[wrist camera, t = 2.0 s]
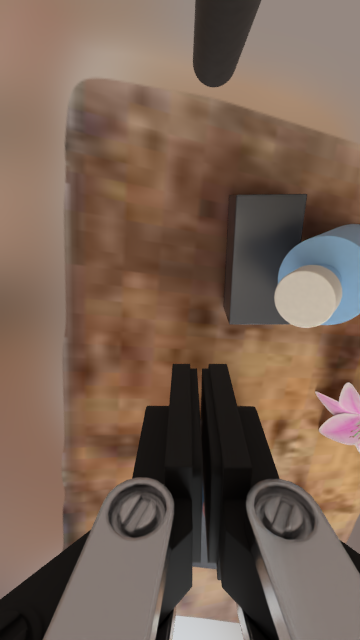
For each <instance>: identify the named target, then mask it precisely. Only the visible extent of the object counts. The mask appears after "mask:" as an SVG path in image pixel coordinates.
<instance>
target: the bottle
mask: <svg viewBox="0 0 360 640" xmlns="http://www.w3.org/2000/svg"><path fill="white" fill-rule="evenodd" d="M274 300H275V306H276V308H277V310H278V312H279V314H280V315H281V316H282V318H284V319H285V320H286V321H287V322H289V323H290V324H292V325H295V326H298V327H303V328H310V327H316V326H318V325H334V324H339V323H343V322H346V321H348V320H350V319H352V318H354V317H355V316H357V315H358V314H359V313H360V224H348V225H343V226H340V227H337V228H335V229H332V230H330V231H327V232H325V233H322V234H320V235H317V236H315V237H312V238H310V239H307V240H305V241H303V242H301V243H299V244H298V245H296V246H295V247H294V248H293V249H292V250H291V251H290V252H289V253H288V254H287V255H286V257H285V258H284V260H283V262H282V264H281V266H280V269H279V273H278V285H277V287H276V290H275V295H274Z"/></svg>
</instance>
